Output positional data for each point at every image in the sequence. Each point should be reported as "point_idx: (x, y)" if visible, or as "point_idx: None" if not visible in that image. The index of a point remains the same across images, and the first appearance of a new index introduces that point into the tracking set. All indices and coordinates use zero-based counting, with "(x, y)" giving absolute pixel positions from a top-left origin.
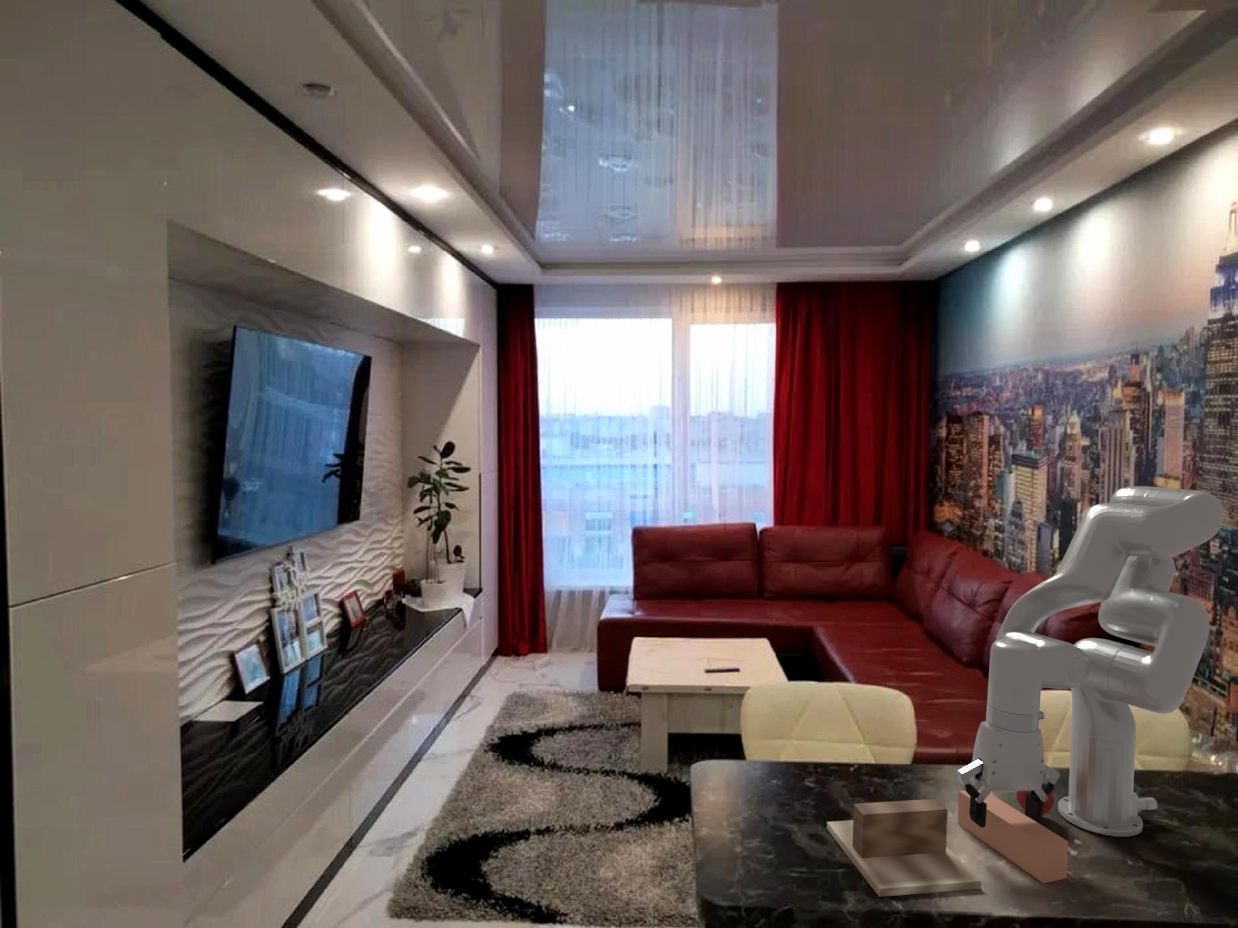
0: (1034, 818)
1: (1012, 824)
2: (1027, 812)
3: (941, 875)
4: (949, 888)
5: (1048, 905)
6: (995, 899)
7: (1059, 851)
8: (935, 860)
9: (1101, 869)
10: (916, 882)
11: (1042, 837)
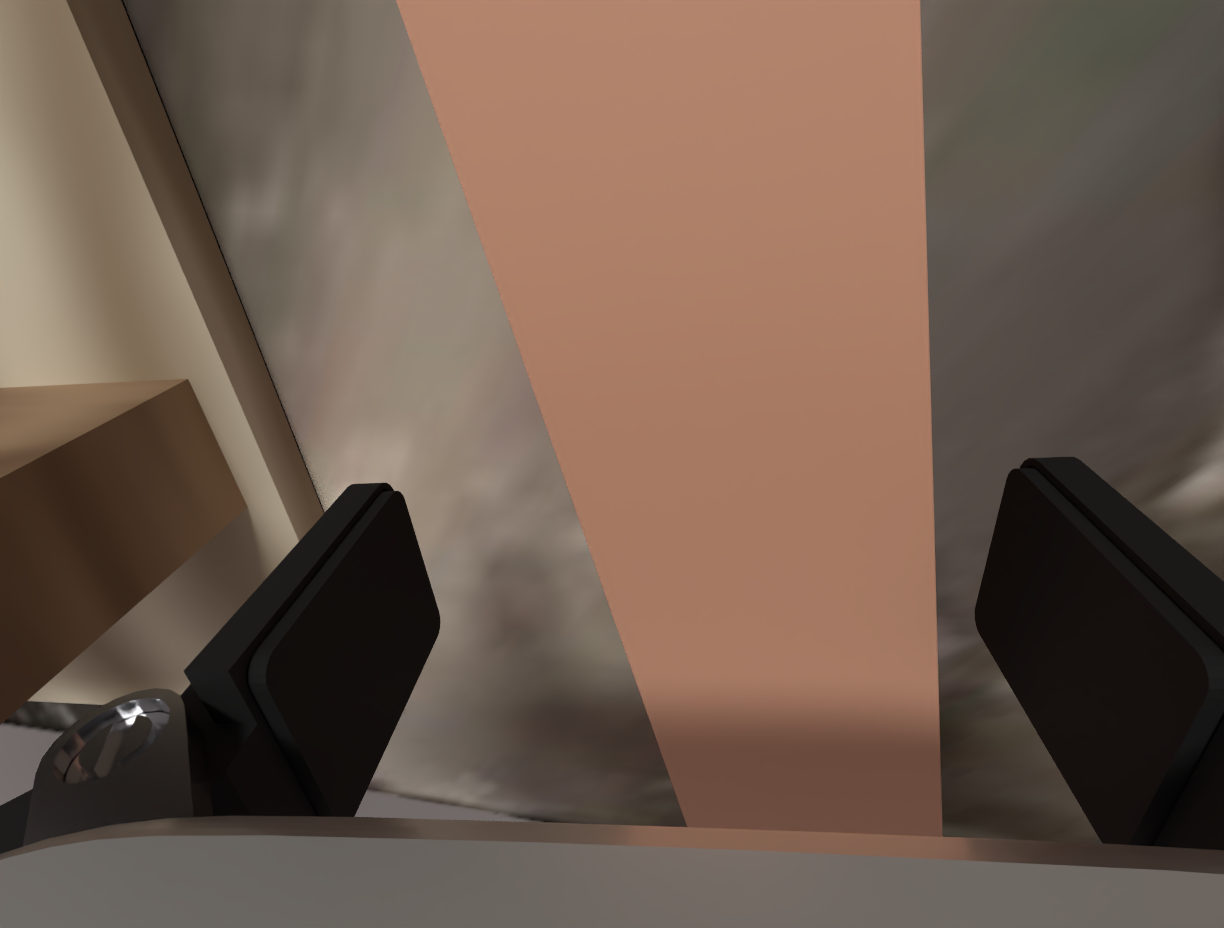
0: (1005, 633)
1: (659, 711)
2: (1037, 541)
3: None
4: None
5: (629, 791)
6: (429, 739)
7: None
8: (181, 568)
9: None
10: (91, 687)
11: None
